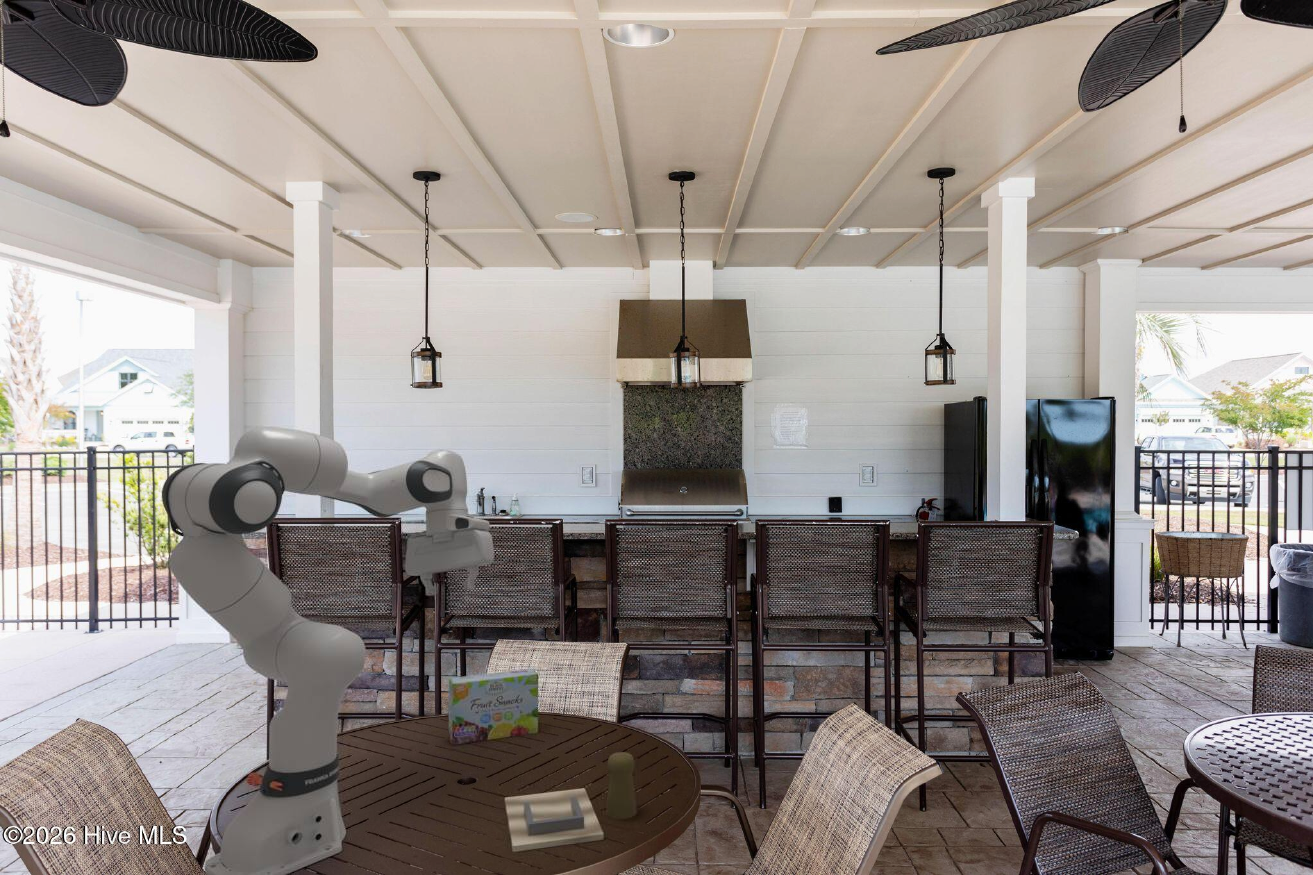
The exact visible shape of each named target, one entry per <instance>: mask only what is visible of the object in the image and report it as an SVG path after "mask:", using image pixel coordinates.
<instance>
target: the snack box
mask: <svg viewBox="0 0 1313 875" xmlns="http://www.w3.org/2000/svg"><path fill="white" fill-rule="evenodd" d="M538 732H539V673H538V672H536V671H535V670H534V669H532V668H527V669H518V670H509V671H501V672H500V671H499V672H492V673H482V674H474V675H465V676H457V677H449V678H448V739H449V741H450V743H451V745H452V746H455V745H463V744H469V743H477V742H483V741H489V740H496V739H504V738H511V737H510V736H512V737H516V736H517V737H518V736H524V735H532V734H537V733H538ZM531 733H532V734H531Z"/></svg>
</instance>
